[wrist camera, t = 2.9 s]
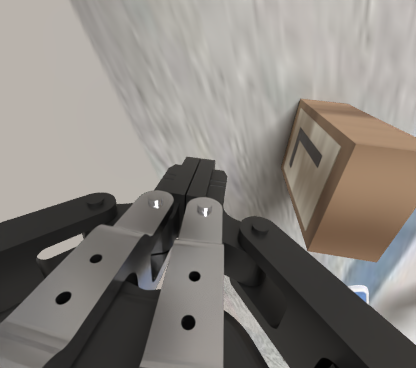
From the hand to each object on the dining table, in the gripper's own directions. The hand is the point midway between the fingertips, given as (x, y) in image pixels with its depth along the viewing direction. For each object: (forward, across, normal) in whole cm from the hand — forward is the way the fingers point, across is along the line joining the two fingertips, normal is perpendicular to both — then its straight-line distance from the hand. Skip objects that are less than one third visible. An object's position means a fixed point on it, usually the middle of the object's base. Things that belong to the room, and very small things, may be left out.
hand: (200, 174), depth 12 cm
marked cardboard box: (+9, -8, 0) cm, 12 cm away
